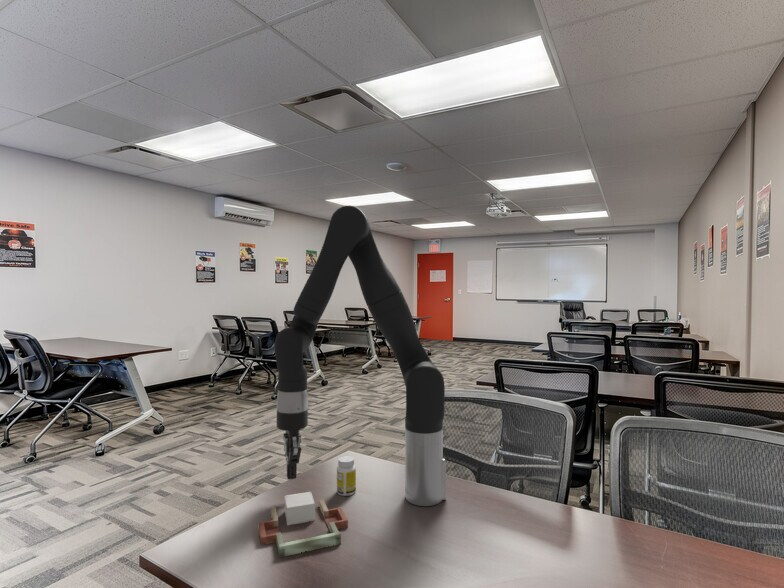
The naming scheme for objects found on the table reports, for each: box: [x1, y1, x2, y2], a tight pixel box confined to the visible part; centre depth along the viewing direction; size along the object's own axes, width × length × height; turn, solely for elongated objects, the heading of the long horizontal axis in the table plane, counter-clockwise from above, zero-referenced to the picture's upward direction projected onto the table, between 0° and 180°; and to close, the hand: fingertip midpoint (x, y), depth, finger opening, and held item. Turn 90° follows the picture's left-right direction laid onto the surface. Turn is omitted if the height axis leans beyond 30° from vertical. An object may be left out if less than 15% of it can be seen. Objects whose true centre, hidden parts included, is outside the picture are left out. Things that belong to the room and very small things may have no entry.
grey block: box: [284, 491, 316, 526], centre depth 97 cm, size 6×6×4 cm
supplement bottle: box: [336, 455, 357, 497], centre depth 109 cm, size 5×5×8 cm
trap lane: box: [258, 498, 349, 558], centre depth 92 cm, size 18×17×2 cm
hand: (291, 477), depth 106 cm, fingers closed
